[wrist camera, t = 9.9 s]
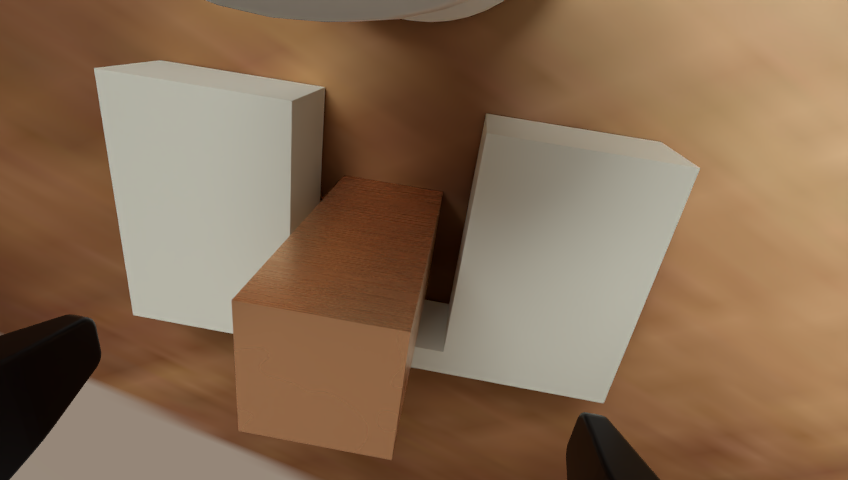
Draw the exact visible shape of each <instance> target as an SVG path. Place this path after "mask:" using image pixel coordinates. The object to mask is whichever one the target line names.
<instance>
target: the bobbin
mask: <svg viewBox="0 0 848 480" xmlns="http://www.w3.org/2000/svg"><path fill="white" fill-rule="evenodd" d="M206 1H209V2H212V3H214V4H217V5H220V6H225V7H229V8H233V9H238V10H242V11H246V12H251V13H255V14H259V15H263V16H268V17H273V18H285V19H297V20H309V21H321V22H361V21H377V20H392V19H405V20H409V21H421V22H441V21H452V20H457V19H461V18H466V17H470V16H472V15H475V14H478V13H481V12H484V11H486V10H488V9H490V8H492V7H494V6H496V5H498V4H499V3H501V2H503V1H505V0H206Z"/></svg>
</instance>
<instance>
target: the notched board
mask: <svg viewBox="0 0 848 480" xmlns="http://www.w3.org/2000/svg"><path fill="white" fill-rule="evenodd" d="M94 72H95V78H96V84H97V91H98V97H99V103H100V109H101V116H102V122H103V128H104V134H105V141H106V147H107V153H108V160H109V166H110V172H111V178H112V185H113V191H114V197H115V203H116V210H117V216H118V222H119V228H120V235H121V241H122V247H123V254H124V260H125V266H126V272H127V279H128V285H129V291H130V297H131V304H132V310H133V315H136V316H141V317H147V318H152V319H157V320H163V321H168V322H173V323H179V324H184V325H189V326H195V327H200V328H205V329H211V330H216V331H221V332H226V333H232V334H233V319H232V301H231V300H232V299H233V298H234V297H235V296H236V295H237V294H238V292H239V291H240V290H241V289H242V288H243V287H244V286H245V285H246V284H247V282H248V281H249V280H250V279H251V278H252V277H253V276H254V275H255V274H256V273H257V271H258V270H259V269H260V268H261V267H262V266H263V265H264V264H265V263H266V261H267V260H268V259H269V258H270V257H271V256H272V255H273V254H274V253H275V252H276V250H277V249H278V248H279V247H280V246H281V245H282V244H283V243H284V242H285V240H286V239H287V238H288V237H289V236H290V235H291V234H292V233H293V232H294V231H295V229H296V228H297V227H298V226H299V225H300V224H301V223H302V222H303V221H304V219H305V218H306V217H307V216H308V215H309V214H310V213H311V212H312V211H313V209H314V208H315V207H316V206H317V205H318V204H319V203H320V191H321V169H322V147H323V124H324V102H325V87H321V86H315V85H309V84H303V83H296V82H290V81H284V80H278V79H272V78H266V77H260V76H254V75H247V74H241V73H235V72H229V71H223V70H217V69H211V68H205V67H198V66H192V65H186V64H180V63H174V62H168V61H162V60H159V61H151V62H142V63H134V64H125V65H117V66H108V67H100V68H94ZM699 170H700V168H699V167H698V166H696V165H695V164H693V163H692V162H690V161H689V160H687V159H686V158H684V157H683V156H681V155H680V154H678V153H677V152H675V151H674V150H672V149H671V148H669V147H668V146H666V145H665V144H663V143H662V142H658V141H652V140H646V139H640V138H634V137H627V136H621V135H615V134H609V133H603V132H597V131H591V130H585V129H578V128H572V127H566V126H560V125H554V124H548V123H542V122H535V121H529V120H523V119H517V118H511V117H505V116H499V115H493V114H486V116H485V121H484V126H483V132H482V137H481V142H480V147H479V152H478V157H477V163H476V168H475V173H474V178H473V183H472V188H471V194H470V199H469V204H468V209H467V214H466V219H465V225H464V230H463V235H462V240H461V245H460V250H459V256H458V261H457V266H456V271H455V276H454V281H453V287H452V292H451V297H450V302H449V304H446V303H441V302H435V301H430V300H425V301H424V306H423V311H422V315H421V320H420V325H419V330H418V335H417V340H416V344H415V349H414V354H413V359H412V364H411V367H413V368H418V369H423V370H429V371H434V372H439V373H445V374H450V375H455V376H460V377H466V378H471V379H476V380H482V381H487V382H492V383H498V384H503V385H508V386H514V387H519V388H524V389H530V390H535V391H540V392H546V393H551V394H556V395H562V396H567V397H572V398H577V399H583V400H588V401H593V402H599V403H604V401H605V399H606V396H607V394H608V391H609V389H610V387H611V384H612V382H613V379H614V377H615V374H616V372H617V370H618V367H619V365H620V362H621V360H622V357H623V355H624V352H625V350H626V348H627V345H628V343H629V340H630V338H631V335H632V333H633V331H634V328H635V326H636V323H637V321H638V318H639V316H640V314H641V311H642V309H643V306H644V304H645V301H646V299H647V297H648V294H649V292H650V289H651V287H652V284H653V282H654V279H655V277H656V275H657V272H658V270H659V267H660V265H661V262H662V260H663V258H664V255H665V253H666V250H667V248H668V245H669V243H670V241H671V238H672V236H673V233H674V231H675V228H676V226H677V224H678V221H679V219H680V216H681V214H682V211H683V209H684V206H685V204H686V202H687V199H688V197H689V194H690V192H691V189H692V187H693V185H694V182H695V180H696V177H697V175H698V172H699Z"/></svg>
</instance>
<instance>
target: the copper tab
mask: <svg viewBox="0 0 848 480" xmlns="http://www.w3.org/2000/svg"><path fill="white" fill-rule="evenodd" d="M442 195H443V192H441V191H435V190H429V189H423V188H417V187H411V186H405V185H399V184H393V183H387V182H380V181H374V180H368V179H362V178H356V177H350V176H343V177H342V179H341V180H340V181H339V182H338V183H337V184H336V185H335V186H334V187H333V188H332V190H331V191H330V192H329V193H328V194H327V195H326V196H325V197H324V198H323V200H322V201H321V202H320V203H319V204H318V205H317V206H316V207H315V208H314V209H313V211H312V212H311V213H310V214H309V215H308V216H307V217H306V218H305V219H304V221H303V222H302V223H301V224H300V225H299V226H298V227H297V228H296V229H295V231H294V232H293V233H292V234H291V235H290V236H289V237H288V238H287V239H286V240H285V242H284V243H283V244H282V245H281V246H280V247H279V248H278V249H277V250H276V252H275V253H274V254H273V255H272V256H271V257H270V258H269V259H268V260H267V261H266V263H265V264H264V265H263V266H262V267H261V268H260V269H259V270H258V271H257V273H256V274H255V275H254V276H253V277H252V278H251V279H250V280H249V281H248V282H247V284H246V285H245V286H244V287H243V288H242V289H241V290H240V291H239V292H238V294H237V295H236V296H235V297H234V298H233V299H232V300H231V301H232V319H233V338H234V357H235V375H236V394H237V413H238V431H242V432H247V433H252V434H258V435H263V436H268V437H273V438H278V439H284V440H289V441H294V442H299V443H305V444H310V445H315V446H320V447H325V448H331V449H336V450H341V451H346V452H352V453H357V454H362V455H367V456H372V457H378V458H383V459H388V460H392V456H393V451H394V446H395V441H396V436H397V432H398V427H399V422H400V417H401V412H402V407H403V403H404V398H405V393H406V388H407V383H408V378H409V374H410V369H411V364H412V359H413V354H414V349H415V344H416V340H417V335H418V330H419V325H420V320H421V315H422V311H423V306H424V301H425V296H426V291H427V286H428V282H429V276H430V270H431V264H432V257H433V251H434V245H435V239H436V232H437V226H438V220H439V214H440V207H441V201H442Z"/></svg>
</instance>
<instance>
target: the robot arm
mask: <svg viewBox="0 0 848 480" xmlns="http://www.w3.org/2000/svg"><path fill="white" fill-rule="evenodd" d="M100 358H101V349H100V344H99V339H98V334H97V329H96V325H95V322H94V321H93V320H92V319H90V318H88V317H83V316H77V315H64V316H61V317H58V318H54V319H51V320H48V321H45V322H42V323H39V324H36V325H32V326H29V327H26V328H23V329H20V330H17V331H14V332H10V333H7V334H4V335H1V336H0V480H9V479H10V478H11V477H12V476H13V475H14V474H15V473H16V472H17V470H18V469H19V468H20V467H21V466H22V465H23V463H24V462H25V461H26V460H27V459H28V458H29V456H30V455H31V454H32V453H33V452H34V451H35V450H36V448H37V447H38V446H39V445H40V444H41V442H42V441H43V440H44V439H45V437H46V436H47V434H48V433H49V432H50V431H51V429H52V428H53V427H54V425H55V424H56V423H57V421H58V420H59V419H60V417H61V416H62V414H63V413H64V412H65V410H66V409H67V407H68V406H69V405H70V403H71V402H72V401H73V399H74V398H75V396H76V395H77V394H78V392H79V391H80V389H81V388H82V387H83V385H84V384H85V383H86V381H87V380H88V379H89V377H90V376H91V374H92V373H93V372H94V370H95V369H96V367H97V366H98V364H99V362H100ZM566 465H567V480H660V479H659V478H658V477H657V475H656V474H655V473H654V472H653V471H652V470H651V468H650V467H649V466H648V465H647V464H646V463H645V461H644V460H643V459H642V458H641V457H640V456H639V455H638V453H637V452H636V451H635V450H634V449H633V448H632V446H631V445H630V444H629V443H628V442H627V441H626V439H625V438H624V437H623V436H622V435H621V434H620V433H619V431H618V430H617V429H616V428H615V427H614V426H613V424H612V423H611V422H610V421H609V420H608V419H607V418H606V417H604V416H602V415H597V414H591V413H586V412H584V413H581V414H580V415H579V417H578V419H577V421H576V424H575V427H574V429H573V432H572V434H571V437H570V439H569V442H568V445H567V451H566Z"/></svg>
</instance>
